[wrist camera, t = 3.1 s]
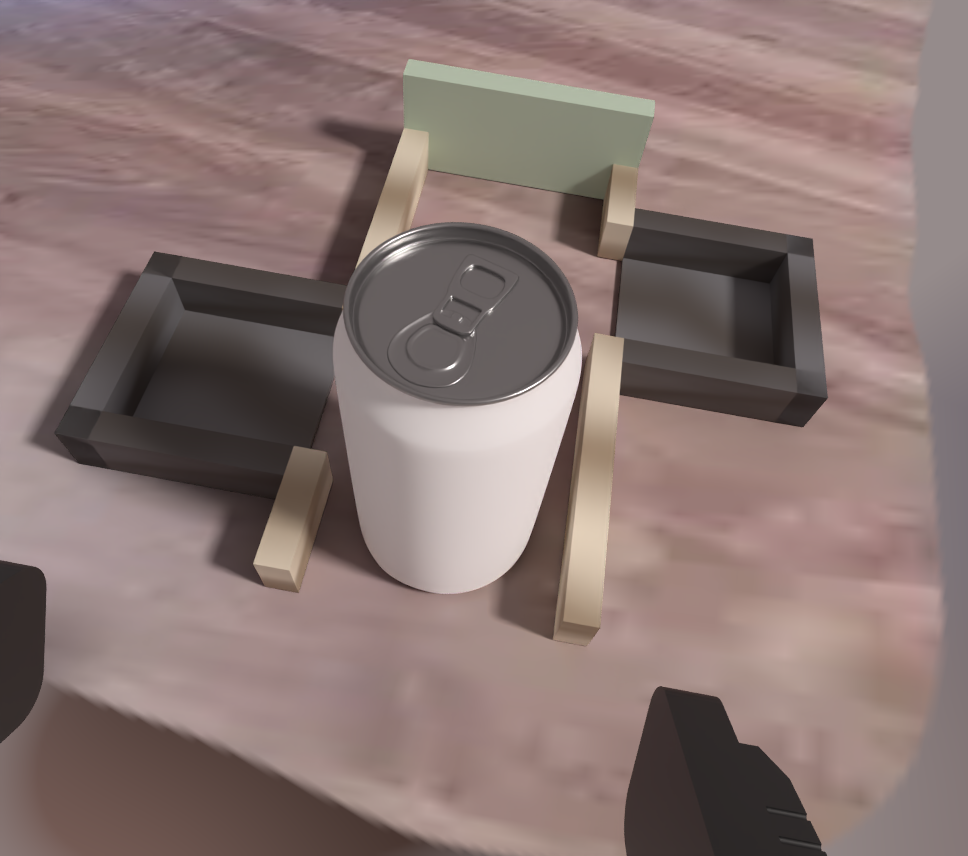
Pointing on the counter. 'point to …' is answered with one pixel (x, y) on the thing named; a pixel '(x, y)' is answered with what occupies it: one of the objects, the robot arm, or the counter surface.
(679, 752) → the robot arm
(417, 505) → the can
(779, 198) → the counter surface
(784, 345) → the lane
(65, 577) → the counter surface
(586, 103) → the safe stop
